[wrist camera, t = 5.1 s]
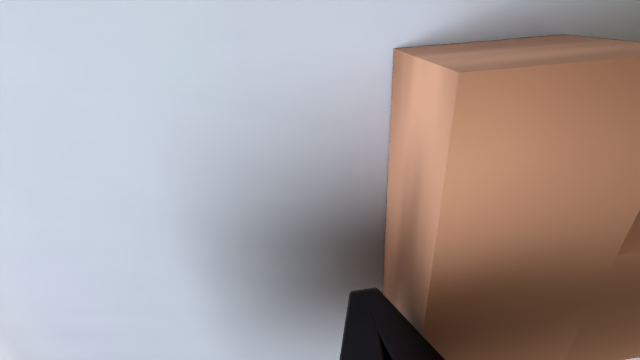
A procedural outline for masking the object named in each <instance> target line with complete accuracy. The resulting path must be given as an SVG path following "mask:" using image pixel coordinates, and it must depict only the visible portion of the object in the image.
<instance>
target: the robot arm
mask: <svg viewBox="0 0 640 360" xmlns="http://www.w3.org/2000/svg"><path fill="white" fill-rule="evenodd" d="M340 360H445V359H444V358H443V357H442V356H441V355H440V354H439V353H438V351H437V350H436V349H435V348H434V347H433V346H432V345H431V344H430V343H429V342H428V341H427V340H426V339H425V338H424V337H423V336H422V335H421V334H420V332H419V331H418V330H417V329H416V328H415V327H414V326H413V325H412V324H411V323H410V322H409V321H408V320H407V319H406V318H405V317H404V316H403V315H402V313H401V312H400V311H399V310H398V309H397V308H396V307H395V306H394V305H393V304H392V303H391V302H390V301H389V300H388V299H387V298H386V297H385V296H384V294H383V293H382V292H381V291H380V290H379V289H377V288H369V289H364V290H356V291H351V292H350V294H349V301H348V307H347V314H346V320H345V327H344V334H343V340H342V347H341V353H340Z"/></svg>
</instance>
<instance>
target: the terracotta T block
mask: <svg viewBox="0 0 640 360" xmlns="http://www.w3.org/2000/svg"><path fill="white" fill-rule="evenodd" d="M383 294H384V296H385V297H386V298H387V299H388V300H389V301H390V302H391V303H392V304H393V305H394V306H395V307H396V308H397V309H398V310H399V311H400V312H401V313H402V315H403V316H404V317H405V318H406V319H407V320H408V321H409V322H410V323H411V324H412V325H413V326H414V327H415V328H416V329H417V330H418V331H419V332H420V334H421V335H422V336H423V337H424V338H425V339H426V340H427V341H428V342H429V343H430V344H431V345H432V346H433V347H434V348H435V349H436V350H437V351H438V353H439V354H440V355H441V356H442V357H443V358H444V359H445V360H625V359H631V358H638V357H640V42H634V41H624V40H613V39H603V38H593V37H582V36H572V35H554V36H541V37H529V38H517V39H505V40H492V41H480V42H468V43H456V44H444V45H431V46H419V47H407V48H395V49H394V50H393V73H392V96H391V118H390V141H389V164H388V186H387V209H386V232H385V254H384V277H383Z"/></svg>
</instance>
